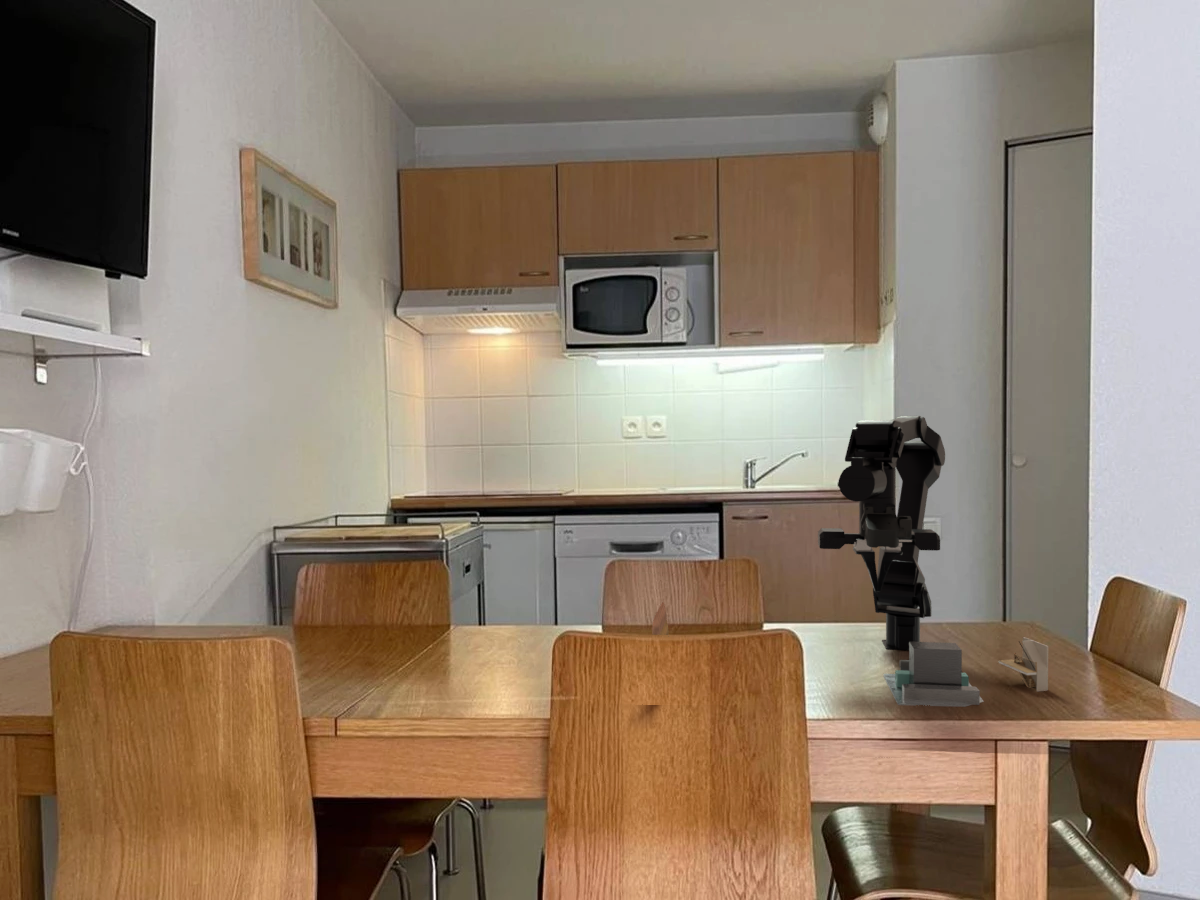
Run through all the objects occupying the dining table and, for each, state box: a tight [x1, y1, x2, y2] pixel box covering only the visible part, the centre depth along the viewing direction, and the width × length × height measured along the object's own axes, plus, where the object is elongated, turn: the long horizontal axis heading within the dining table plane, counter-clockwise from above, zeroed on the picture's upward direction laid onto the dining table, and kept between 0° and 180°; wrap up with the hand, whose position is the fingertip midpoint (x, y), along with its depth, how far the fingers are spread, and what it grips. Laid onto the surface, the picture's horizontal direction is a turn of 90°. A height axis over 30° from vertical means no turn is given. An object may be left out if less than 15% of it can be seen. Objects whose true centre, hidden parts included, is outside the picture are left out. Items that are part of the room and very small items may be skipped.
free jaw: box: [894, 659, 970, 687], centre depth 136 cm, size 8×10×2 cm
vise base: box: [882, 673, 985, 708], centre depth 132 cm, size 15×12×2 cm
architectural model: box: [998, 636, 1049, 692], centre depth 133 cm, size 3×7×7 cm, turn 10°
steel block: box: [908, 641, 963, 686], centre depth 130 cm, size 4×6×7 cm, turn 80°
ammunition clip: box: [651, 602, 669, 636], centre depth 137 cm, size 11×2×12 cm, turn 170°
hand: (877, 591), depth 147 cm, fingers closed
